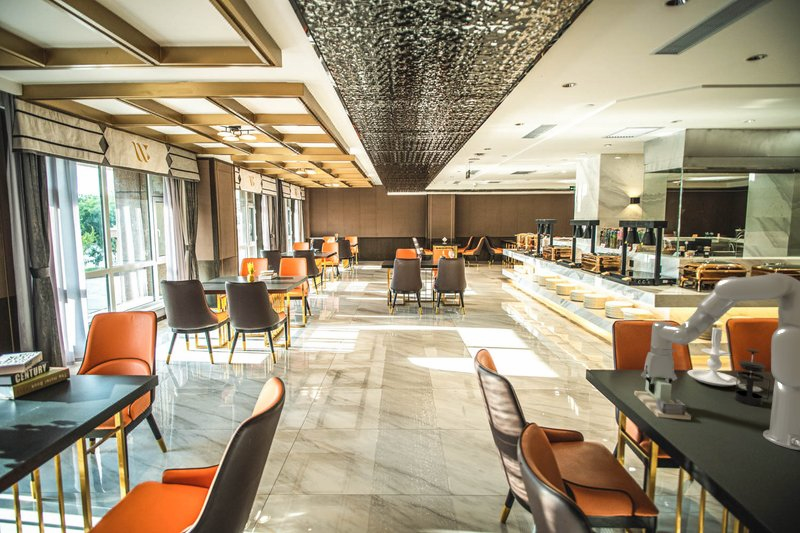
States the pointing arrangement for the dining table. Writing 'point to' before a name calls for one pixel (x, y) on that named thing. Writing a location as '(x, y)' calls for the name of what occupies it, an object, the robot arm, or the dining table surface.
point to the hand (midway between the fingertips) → (657, 392)
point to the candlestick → (714, 364)
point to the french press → (751, 383)
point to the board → (663, 406)
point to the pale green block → (660, 389)
